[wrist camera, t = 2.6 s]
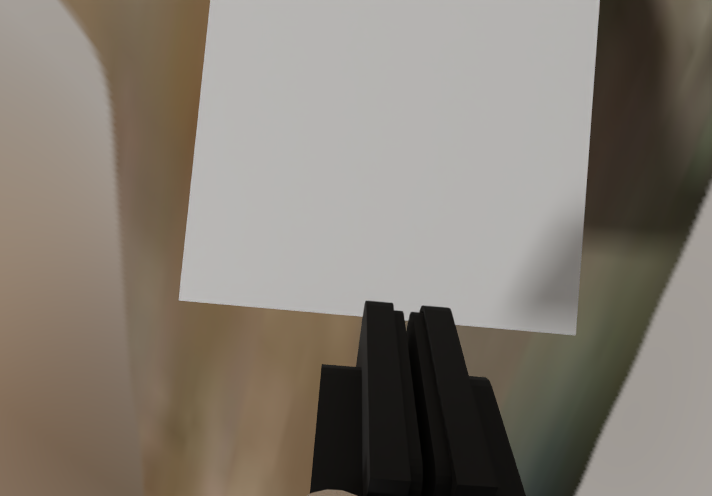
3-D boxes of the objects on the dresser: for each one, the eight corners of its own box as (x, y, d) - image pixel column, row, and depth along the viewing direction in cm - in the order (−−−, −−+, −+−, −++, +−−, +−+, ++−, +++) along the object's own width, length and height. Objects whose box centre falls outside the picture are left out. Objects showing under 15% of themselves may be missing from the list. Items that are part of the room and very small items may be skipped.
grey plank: (242, -176, 18) (233, -217, 16) (589, -133, 18) (611, -169, 17) (192, 297, 17) (178, 300, 15) (554, 329, 17) (575, 335, 16)
